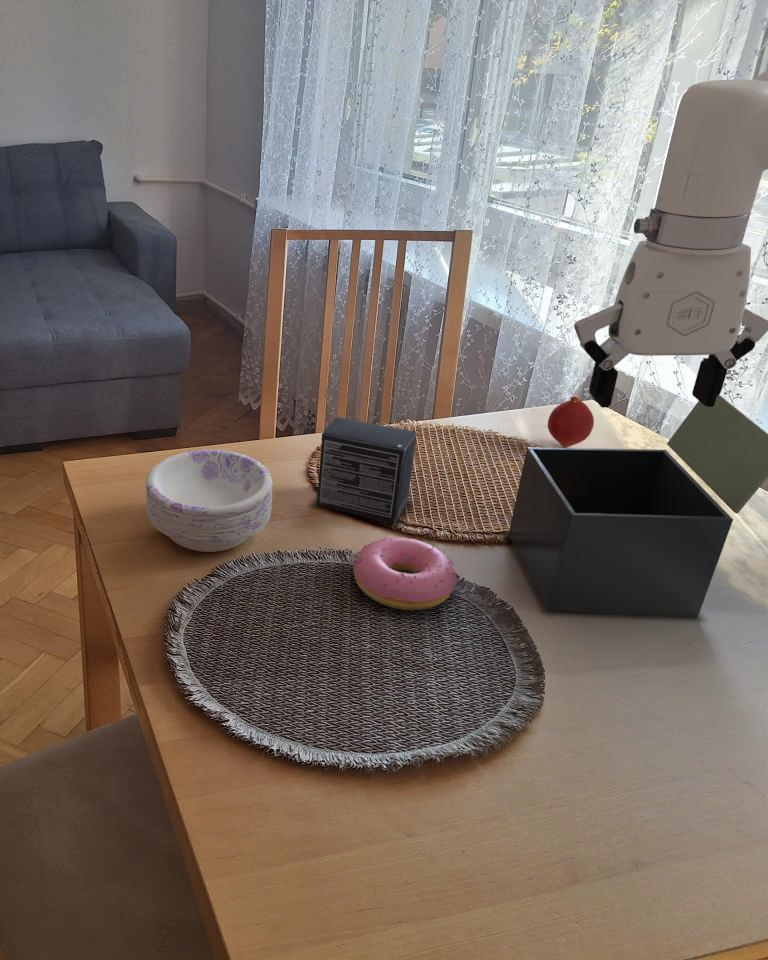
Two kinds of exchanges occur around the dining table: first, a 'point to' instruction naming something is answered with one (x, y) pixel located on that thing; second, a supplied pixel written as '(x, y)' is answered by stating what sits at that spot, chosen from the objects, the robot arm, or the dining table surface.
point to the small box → (365, 469)
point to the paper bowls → (209, 498)
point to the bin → (616, 531)
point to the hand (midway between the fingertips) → (650, 401)
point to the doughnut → (399, 590)
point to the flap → (724, 451)
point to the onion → (571, 422)
